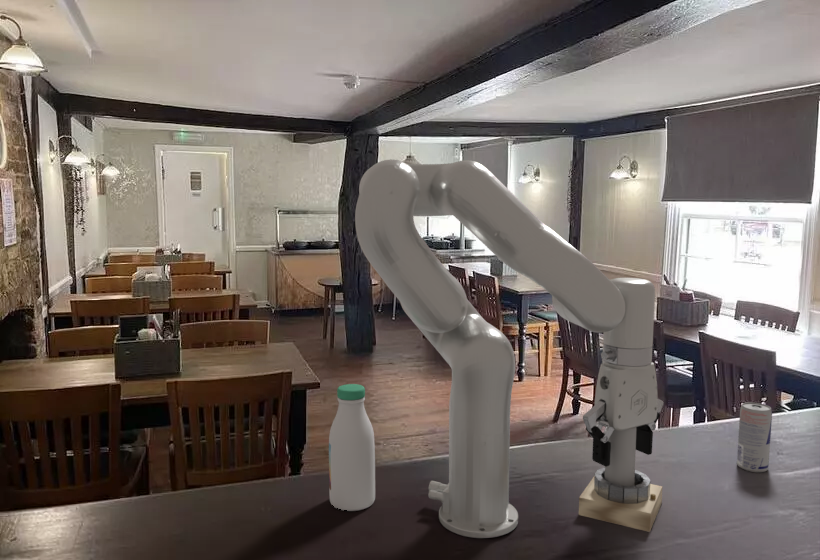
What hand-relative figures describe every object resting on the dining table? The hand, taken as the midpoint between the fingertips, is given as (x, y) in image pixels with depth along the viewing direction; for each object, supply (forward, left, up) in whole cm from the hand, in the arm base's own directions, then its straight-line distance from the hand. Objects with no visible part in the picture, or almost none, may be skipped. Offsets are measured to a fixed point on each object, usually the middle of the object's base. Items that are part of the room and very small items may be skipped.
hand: (622, 457), depth 106 cm
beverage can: (0, 0, -6) cm, 6 cm away
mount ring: (0, 0, -6) cm, 6 cm away
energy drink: (+18, +30, -9) cm, 36 cm away
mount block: (0, 0, -9) cm, 9 cm away
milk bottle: (-40, -20, -9) cm, 46 cm away
